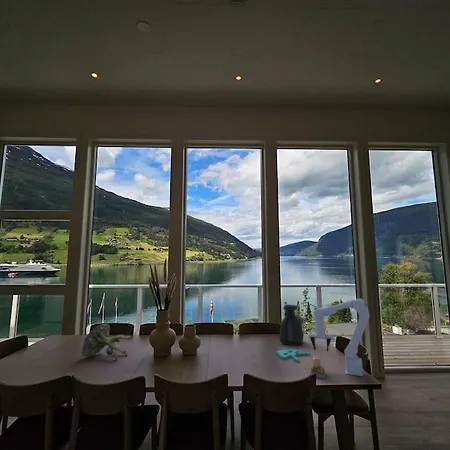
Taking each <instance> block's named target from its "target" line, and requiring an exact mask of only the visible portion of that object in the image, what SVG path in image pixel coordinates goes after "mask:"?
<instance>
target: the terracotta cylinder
mask: <svg viewBox="0 0 450 450" xmlns="http://www.w3.org/2000/svg"><path fill="white" fill-rule="evenodd" d="M312 365H313V367H314V368H317V369H319V368H321V366H322V365H321V357H318V356H313V357H312Z"/></svg>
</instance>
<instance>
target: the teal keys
mask: <svg viewBox="0 0 450 450" xmlns="http://www.w3.org/2000/svg"><path fill="white" fill-rule="evenodd" d="M275 355H277V357H278V358H279V360H280V359H281V360H284V361H285V360H288V359H290V358H291V360H292V361H294V363H299V362H300V359H299V358H298V357H309V356H311V352H309V351H307V352H299V350H298V349H280V350H277V351H276V352H275Z"/></svg>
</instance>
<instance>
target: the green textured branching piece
mask: <svg viewBox="0 0 450 450" xmlns="http://www.w3.org/2000/svg"><path fill="white" fill-rule="evenodd" d="M110 327H111V326H110V324H109V323H101V324H98V325H96V326H95V327H94V328H93V329H91V330H90V331H89V332H88V333H87V335H86V337H85V338H84V341H83V344H82V351H81V355H82V357H85V358H91V356H93V357H94V355H96V354H99V353H100V352H101V350H103V349H104V348H105V347H106V346H107V348H106V354H107V355H108V356H112V357H113V356H114V359H115V360H116V361H118V360H119V359H118V358H119V356H118V354H117V351H118V352H120V353H121V354H123V355H124V356H126V355H128V352H127V351H126V350H125V349H124V348H122V347H121V346H119V345H117V344H116V343H118V344H119V343H120V340H121V339H122V340H131V339H132V337H131V335H124V334H118V335H115V336H111V337H109V335H110V330H111V328H110Z"/></svg>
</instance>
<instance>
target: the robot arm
mask: <svg viewBox="0 0 450 450" xmlns="http://www.w3.org/2000/svg"><path fill="white" fill-rule="evenodd" d="M347 308H349V309H354V311H356V312H357V314H358V316H359V318H358V321H357V324H356V326H355V329H354V332H353V334H352V337H351V339H350V341H349V344H348V345H347V346H346V347H345V349H344V351H343V352H344V357H345V359H344V362H345V370H344V372H345V373H344V374H345V375H352V376H357V377H359V376H360V377H363V376H364V368H363V360H362V358H361V357H359V356H358V355H357V354H358V352H359V349H358V347H359V344H360V341H361V339H362V337H363V333H364V332H365V329H366V327H367V323H368V322H369V319H370V313H369V308H368V304H367V303H366V301H365V300H364V299H363V298H356V299H350V300H346V301H344V302H342V303H339V304H335V305H334V304H326V306H320V307H319V308H316V309H315V310H314V311H313V316H314V325H315V327H314V328H315V329H314V330H315V333H314V334H313V333H312V334H311V333H310V334H309V333H308V338H309V340H310V341H311V343H312V346H313V351H316V349H317V348H316V339H320V340H321V339H323V340H326V351H327V352H329V346H330V345H331V341H333V340H334V339H333V338H334V337H333V336H334V335H329V334H326V330H325V328H326V327H325V317H329V316H332V315H335V314H336V312H337V311H340V310H343V309H347Z"/></svg>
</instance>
